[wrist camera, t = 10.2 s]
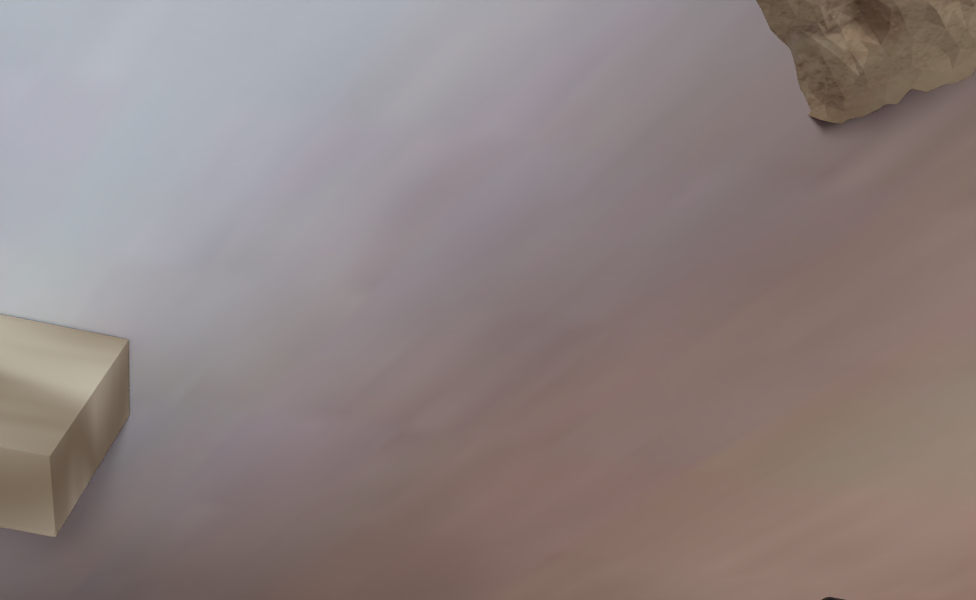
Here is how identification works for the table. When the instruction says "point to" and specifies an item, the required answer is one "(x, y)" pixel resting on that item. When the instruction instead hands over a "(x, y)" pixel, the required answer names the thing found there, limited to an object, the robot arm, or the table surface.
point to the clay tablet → (873, 49)
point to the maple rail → (55, 417)
